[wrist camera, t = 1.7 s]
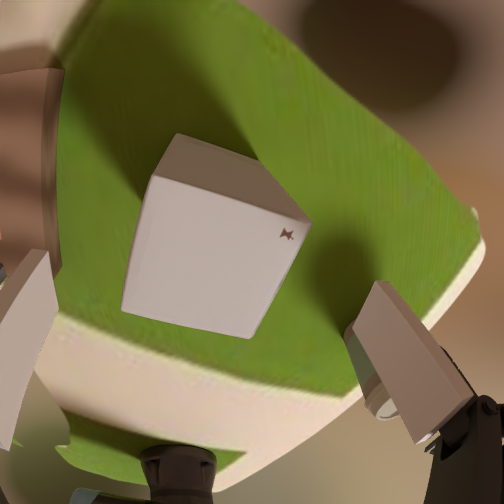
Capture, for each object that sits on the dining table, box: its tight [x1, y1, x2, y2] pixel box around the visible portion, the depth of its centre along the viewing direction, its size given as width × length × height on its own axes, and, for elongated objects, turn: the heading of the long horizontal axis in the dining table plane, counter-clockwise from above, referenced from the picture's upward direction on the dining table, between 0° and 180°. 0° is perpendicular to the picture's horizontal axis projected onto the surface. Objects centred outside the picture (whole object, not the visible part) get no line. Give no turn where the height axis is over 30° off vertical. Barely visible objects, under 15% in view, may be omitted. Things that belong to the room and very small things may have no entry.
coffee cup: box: [343, 318, 400, 421], centre depth 31 cm, size 8×9×12 cm
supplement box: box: [121, 133, 312, 339], centre depth 19 cm, size 7×7×13 cm
